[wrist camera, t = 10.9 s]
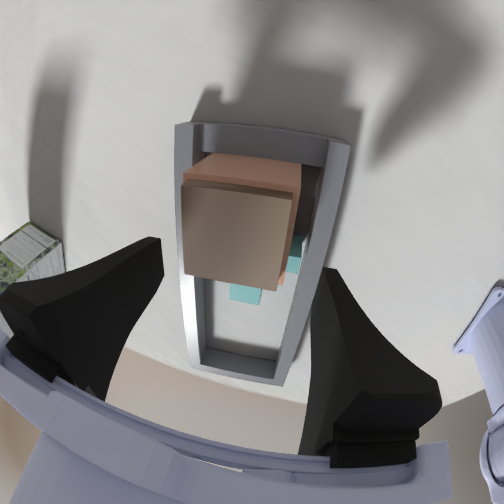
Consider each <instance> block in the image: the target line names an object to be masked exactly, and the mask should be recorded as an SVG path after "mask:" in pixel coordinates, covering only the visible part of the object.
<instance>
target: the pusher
mask: <svg viewBox="0 0 504 504" xmlns="http://www.w3.org/2000/svg"><path fill="white" fill-rule="evenodd" d="M301 253H302V236H297V235H292V241H291V246H290V251H289V257H288V262H287V267H286V272H292V273H298V270H299V266H300V262H301ZM261 292H262V289H260V288H254V287H249V286H243V285H238V284H232V283H230V299H229V300H234V301H239V302H245V303H250V304H255V305H259V302H260V298H261Z"/></svg>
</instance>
